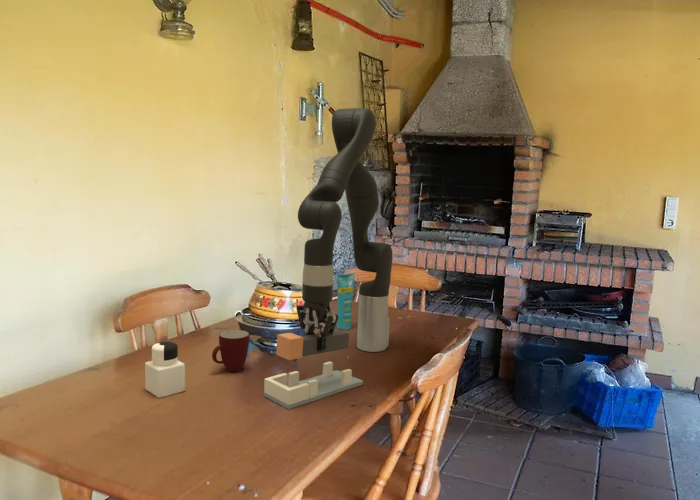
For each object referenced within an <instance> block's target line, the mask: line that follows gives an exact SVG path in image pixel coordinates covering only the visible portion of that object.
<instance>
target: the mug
mask: <svg viewBox="0 0 700 500" xmlns="http://www.w3.org/2000/svg"><path fill="white" fill-rule="evenodd" d="M249 346H250V333H249V332H248V331H246V330H241V329H230V330H223V331H222V332H220V333H219V335H218V345H217V346H216V347H214V348H213V350H212V354H211V356H212V361H213V362H214V363H216V364H217V365H218V364H219V365H224V367H225V369H226V370H227V372H232V373H233V372H234V373H235V372H240V371H241V370H242V369H243V366H244V365H245V363H246V360H247V357H248V351H249ZM219 351H220V356H221V360H218V358H217V355H218V352H219Z"/></svg>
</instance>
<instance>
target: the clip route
mask: <svg viewBox="0 0 700 500" xmlns="http://www.w3.org/2000/svg"><path fill="white" fill-rule="evenodd" d="M352 371H353V370H352V369H350V368H347V369H344V370H341V371H340V370H334V362H332V361H326V362H324V363H322V374H320V375H317V376H313V377H310V378H306V379H303V380H300V372H299V371H297V370H295V371H291V372H288V373H286V372H283V373H281V374H280V373H279V374H276V375H272V376H269V377H266V378H264V381H263V382H264V383H263V384H264V385H263V386H264V390H263V397H265V398H266V399H268V400H271V401H272V402H274V403H276V404H278V405H280V406H281V407H284V408H285V409H287V410H292V409H294V408H297V407H299V406H303V405H305V404H309V403H311V402H314V401H318V400H320V399H324V398H326V397H330V396H333V395H335V394H339V393H341V392H345V391H347V390H351V389H354V388H357V387H359V386H362V385H364V380H362V379H360V378H357V377H354V376H352V375H353V373H352Z"/></svg>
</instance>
